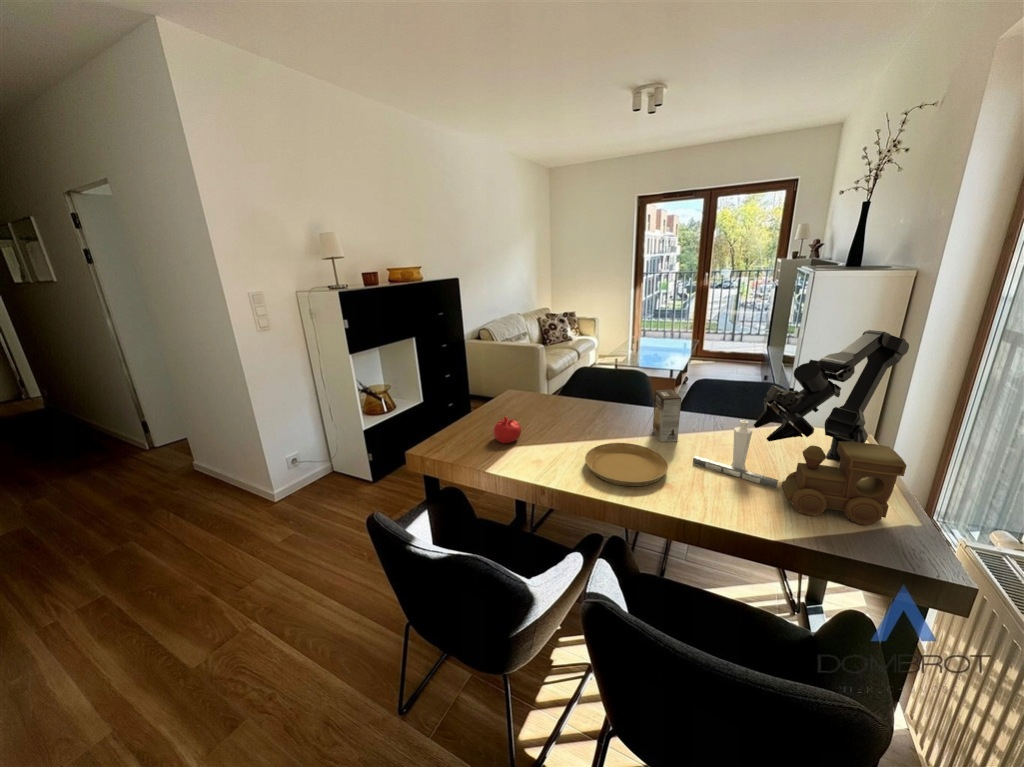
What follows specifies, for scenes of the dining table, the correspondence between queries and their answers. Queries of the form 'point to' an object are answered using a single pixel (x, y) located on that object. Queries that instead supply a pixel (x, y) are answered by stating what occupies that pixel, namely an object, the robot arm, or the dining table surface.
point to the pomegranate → (507, 430)
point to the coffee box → (666, 415)
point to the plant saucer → (626, 464)
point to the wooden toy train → (846, 481)
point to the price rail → (736, 472)
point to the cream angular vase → (741, 444)
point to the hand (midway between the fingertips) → (760, 433)
